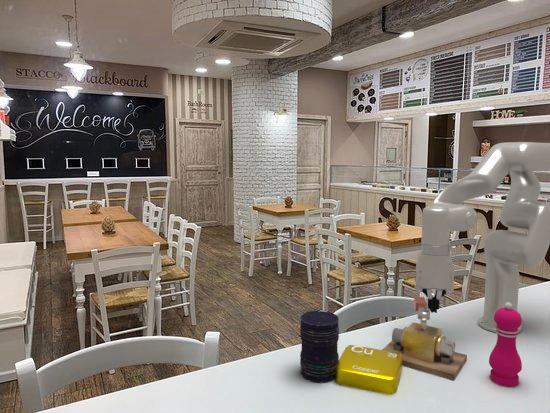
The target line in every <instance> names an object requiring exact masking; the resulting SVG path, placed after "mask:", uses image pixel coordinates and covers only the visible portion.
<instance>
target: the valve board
mask: <svg viewBox="0 0 550 413" xmlns="http://www.w3.org/2000/svg"><path fill="white" fill-rule="evenodd" d="M394 343H395V342H393V341H392V340H391V341H390V342H389V343H388V344H387V345H386V346H384V347H383V348H382V349H381V350H386V351H392V352H397V353H400V354H401V355H402V357H403V358H402V367H406V368H410V369H414V370H417V371H421V372H424V373H427V374H431V375H434V376H437V377H441V378H445V379H447V380H451V381H455V379H457V376H458V375H459V373H460V372H461V370H462V369H463V367H464V365H465V364H466V362H467V360H468V357H467V356H468V355H467V354H465V353H460V352H457V351H455V353H454V356H453V360H452V361H451V362H450V364H445V363H442V362H441V358H440V357H438V358H437V359H436V360H435V362H434V363H431V362H427V361H423V360H420V359H416V358H413V357H409V356H405V355H404V348H403V349H402V350H401V351H398V350H394Z"/></svg>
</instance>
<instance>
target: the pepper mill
mask: <svg viewBox="0 0 550 413" xmlns="http://www.w3.org/2000/svg"><path fill="white" fill-rule="evenodd" d="M504 306H505V308H500V309H498V310H497V311H496V312H495V315H494V321H495V323H496V324H497V326H496V332H495V333H496V334H497V337H496V338H497V339H496V344H495V345H494V347H493V349H492V351H491V352H490V354H489V358H488V364H489V366H490V368H491V369H490V374H489V378H490V379H491V381H492V382H494V383H495V384H497V385H500V386H504V387H515V386H518V385H519V381H520V380H519V379H520V375H519V374H520V373H521V371H522V368H523V364H522V360H521V357H520V354H519V352H518V349H517V337H519V335H520V334H519V333H520V332H519V330H518V328H519V327H520V326H522V323H523V320H522V316H521V314H520V312H518V310H517V311H516V310H514V309H512V308H513V305H512V304H511V303H509V302H507V303H505V305H504ZM518 332H519V333H518Z"/></svg>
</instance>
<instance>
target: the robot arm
mask: <svg viewBox="0 0 550 413" xmlns="http://www.w3.org/2000/svg"><path fill="white" fill-rule="evenodd" d="M535 172H550V142H534V141H533V142H532V141H516V142H513V141H512V142H510V141H509V142H508V141H507V142H500V143H496V144H494V145H493V146H491V147H490V148H489V149H488V151H487V152H486V153H485V155H484V156H483V157H482V158H481V160H480V161H479V162H478V163H477V165H476V166H475V167H474V169H472V171H471V172H470V173H469V174H468V175H466V176H464V177H461V178H460V179H458V180H456V181H455V182H453V183H451V184H450V185H448V186H446V187H445V188H444V189H442V191H440V193H439V194H437V196H436V197H435V199H434V200H433V201H432V202H431V204H430V206H429V205H428V206H426V207H424V208H423V209H422V212H421V250H420V252H418V254H417V257H416V263H415V264H416V265H415V275H414V277H415V278H414V279H415V285H414V291H416V292H420V293H422V294H424V295H425V296H426V297H427V309H429V311H430V314H433V313H434V314H438V313H437V312H438V310H440V300H442V298H443V297H444V296H445V295H446V294H447V295H448V294H453V293H454V292H455V290H454V283H455V282H454V280H455V279H454V263H453V255H452V254H451V252H452V251H453V252H455V251H456V245H451V244H450V243H451V232H466V231H470V230H472V229H474V227H475V226H476V225H477V223H478V216H479V215H478V213H477V211H476V210H475V209H474V208H473V207H471V206H469V205H466V204H462V203H463V202H466V201H468V200H471V199H472V200H473V199H475V198H480V197H483V196H487V195H490V194H492V193H494V192H495V191H496V190H497V188H499V186H500V185H501V183H502V182H503V181H504V179H505V178H506V177H507V176H508V174H509V176H510V181H511V182H510V186H509V190H508V193H507V196H506V198H505V201H504V204H503V205H502V209H501V211H500V214H499V220H500V224H502V225H503V226H504V227H506V228H510V229H514V230H520V231H526V232H527V233H522V232H517V231H512V230H506V229H505V230H504V229H495V230H492V231H489V232H488V233H487V234H486V236H485V238H484V241H483V251H484V254H485V255H484V257H485V284H484V285H485V286H484V287H485V288H484V303H483V308H484V309H483V316H481V317H479V318H478V320H477V322H478V325H479V327H481V328H483V329H484V330H486V331H489V332H494V333H496V326H497V324H496V323H495V321H494V315H495V312H496V311H497V310H498V309H500V308H505V306H504V305H505V303H507V302H509V303H511V304H512V305H513V308H512V309H514V310H516V311H517V312H518V307H519V306H518V303H519V287H520V273H519V269H518V267H517V265H521V266H525V267H530V268H532V267H537V266H539V265H541V264H542V263H543V261H544V260H545V257H546V255H547V252H548V250H549V247H550V203H549V202H546V201H538V199H539V196H540V193H541V183H540V181H539V179H538V177H537V176H536V174H535ZM432 290H435V293H434V296H433V293H432ZM522 329H523V326H522V325H521V326H520V327H519V328H518V330H519V332H518V334H519V333H520V332H522Z"/></svg>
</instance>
